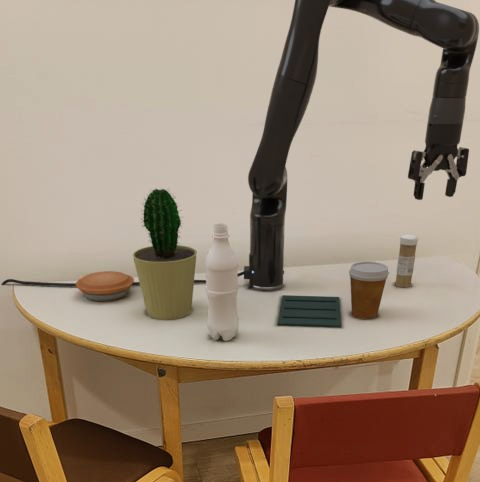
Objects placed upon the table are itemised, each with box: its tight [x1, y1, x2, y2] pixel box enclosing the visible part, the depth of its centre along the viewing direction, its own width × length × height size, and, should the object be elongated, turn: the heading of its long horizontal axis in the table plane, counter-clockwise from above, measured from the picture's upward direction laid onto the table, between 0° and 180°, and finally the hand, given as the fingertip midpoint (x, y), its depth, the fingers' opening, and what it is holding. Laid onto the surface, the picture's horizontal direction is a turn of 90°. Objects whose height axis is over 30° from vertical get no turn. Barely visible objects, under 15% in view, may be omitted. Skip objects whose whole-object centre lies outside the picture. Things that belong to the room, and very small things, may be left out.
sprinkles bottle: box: [394, 234, 419, 288], centre depth 164 cm, size 5×5×13 cm
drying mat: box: [277, 294, 342, 329], centre depth 151 cm, size 15×20×1 cm
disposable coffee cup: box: [348, 261, 390, 320], centre depth 146 cm, size 10×10×12 cm
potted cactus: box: [132, 188, 198, 320], centre depth 144 cm, size 15×15×30 cm
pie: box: [74, 270, 135, 302], centre depth 162 cm, size 15×16×5 cm
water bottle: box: [204, 223, 240, 342], centre depth 131 cm, size 7×7×25 cm
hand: (433, 197), depth 141 cm, fingers open, 8 cm apart
